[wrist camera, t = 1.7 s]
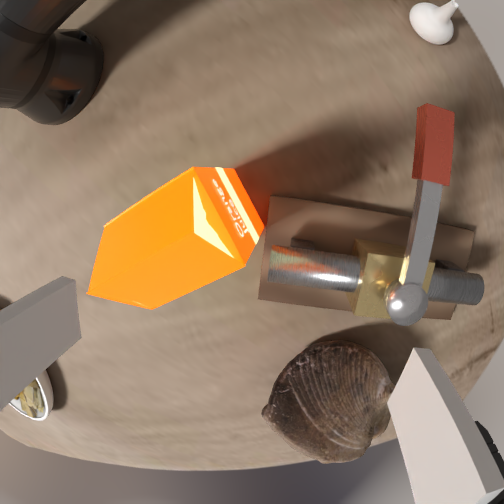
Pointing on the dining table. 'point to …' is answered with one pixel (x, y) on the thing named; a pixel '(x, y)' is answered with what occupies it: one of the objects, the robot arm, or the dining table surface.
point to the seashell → (331, 401)
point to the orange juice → (176, 239)
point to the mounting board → (348, 245)
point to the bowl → (35, 398)
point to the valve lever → (422, 212)
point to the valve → (368, 274)
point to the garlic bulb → (433, 21)
